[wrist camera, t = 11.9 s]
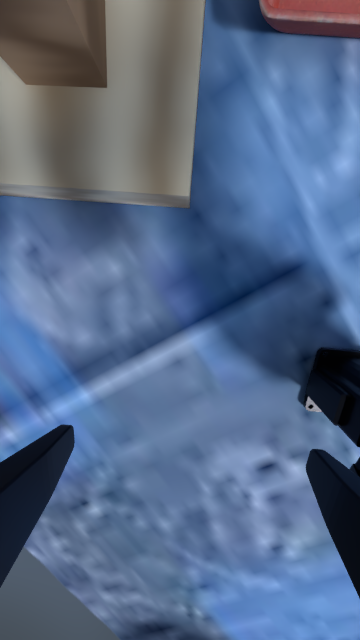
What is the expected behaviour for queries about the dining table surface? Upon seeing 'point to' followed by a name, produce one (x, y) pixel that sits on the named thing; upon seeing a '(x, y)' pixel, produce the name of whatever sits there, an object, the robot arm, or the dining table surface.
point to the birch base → (112, 115)
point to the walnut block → (55, 41)
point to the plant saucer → (313, 16)
